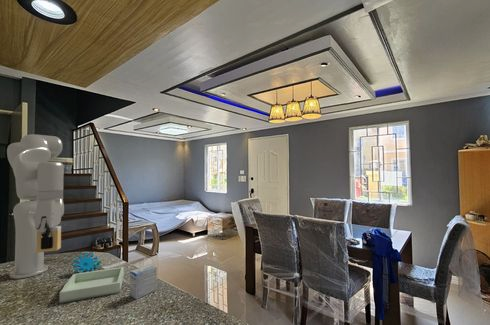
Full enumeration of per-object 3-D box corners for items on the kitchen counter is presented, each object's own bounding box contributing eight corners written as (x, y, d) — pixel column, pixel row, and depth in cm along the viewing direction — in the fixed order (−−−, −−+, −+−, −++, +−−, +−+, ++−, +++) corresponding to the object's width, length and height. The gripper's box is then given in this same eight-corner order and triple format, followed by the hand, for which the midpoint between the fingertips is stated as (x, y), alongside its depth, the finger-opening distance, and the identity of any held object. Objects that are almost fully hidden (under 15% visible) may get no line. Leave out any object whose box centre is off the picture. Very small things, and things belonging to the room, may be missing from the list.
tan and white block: (40, 249, 86) (41, 227, 87) (60, 247, 89) (61, 225, 89) (36, 252, 83) (36, 229, 83) (57, 250, 85) (57, 227, 86)
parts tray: (73, 283, 95) (73, 274, 95) (124, 275, 102) (124, 266, 102) (59, 303, 80) (59, 292, 80) (119, 292, 87) (119, 282, 87)
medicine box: (149, 287, 91) (149, 264, 91) (156, 290, 88) (157, 266, 88) (129, 296, 84) (129, 271, 84) (136, 299, 82) (136, 274, 82)
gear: (73, 275, 98) (73, 253, 105) (69, 282, 101) (70, 260, 107) (103, 270, 106) (102, 250, 112) (99, 278, 108) (98, 257, 115)
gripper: (46, 194, 93) (45, 242, 92) (25, 198, 78) (24, 255, 77) (69, 193, 96) (69, 239, 95) (54, 197, 80) (53, 252, 80)
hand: (49, 246), depth 86 cm, fingers closed on tan and white block, 3 cm apart
